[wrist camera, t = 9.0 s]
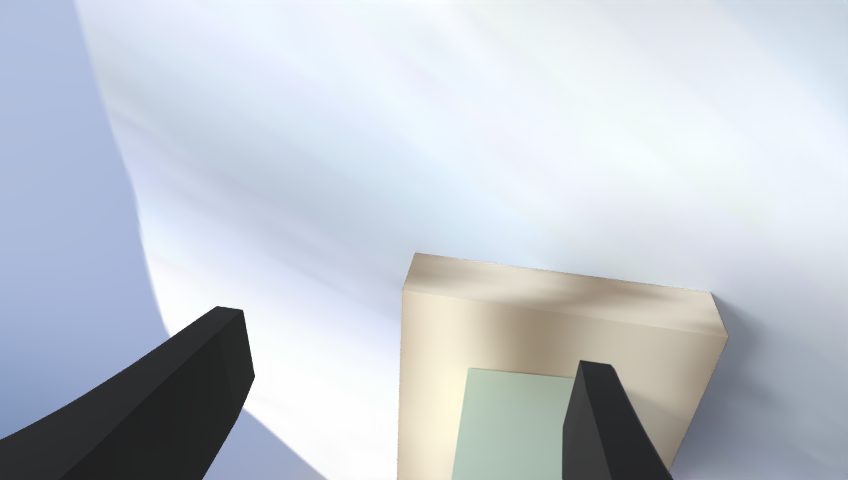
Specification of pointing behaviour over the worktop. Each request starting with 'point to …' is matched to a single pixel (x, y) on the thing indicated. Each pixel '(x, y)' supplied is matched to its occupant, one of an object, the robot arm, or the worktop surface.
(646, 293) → the birch block
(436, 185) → the worktop surface
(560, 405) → the sage cube
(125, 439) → the robot arm
